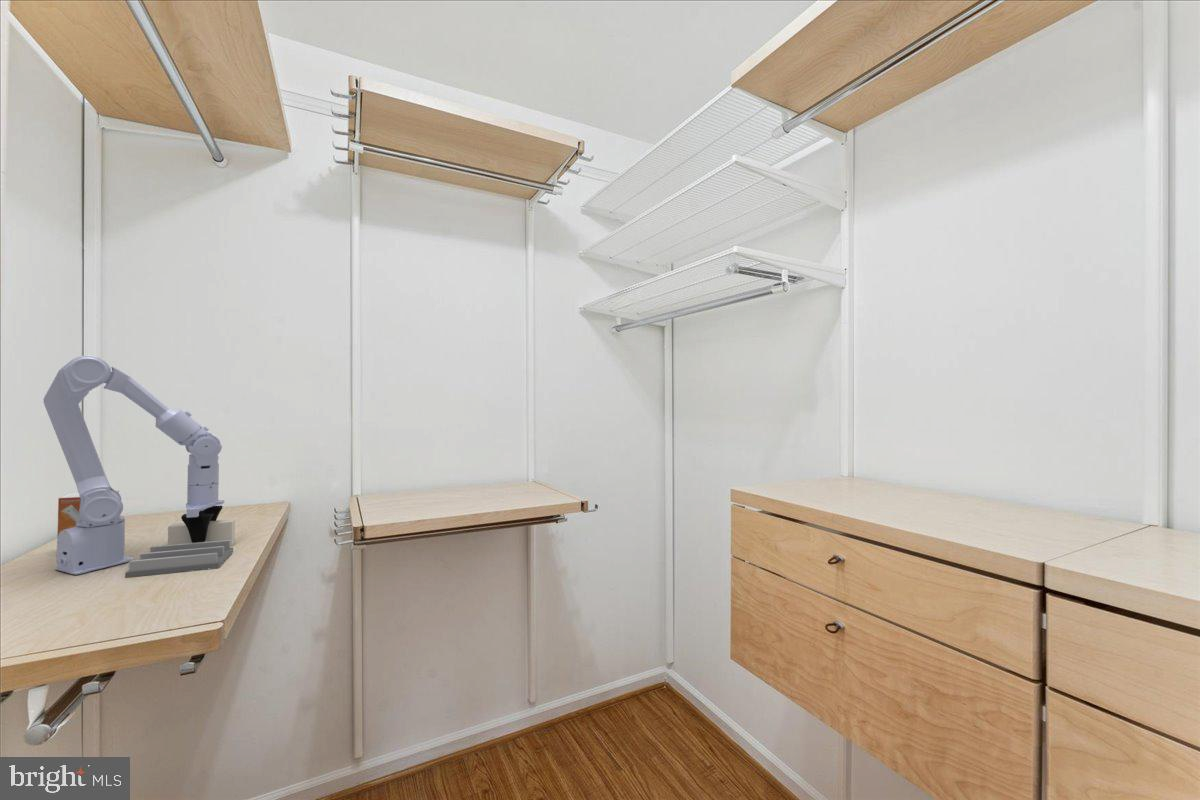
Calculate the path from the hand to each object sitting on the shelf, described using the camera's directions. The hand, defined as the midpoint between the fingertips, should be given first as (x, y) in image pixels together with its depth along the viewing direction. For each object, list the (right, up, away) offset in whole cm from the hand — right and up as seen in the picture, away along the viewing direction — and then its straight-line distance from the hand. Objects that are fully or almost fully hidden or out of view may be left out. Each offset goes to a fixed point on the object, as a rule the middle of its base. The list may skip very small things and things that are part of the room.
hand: (202, 540), depth 114 cm
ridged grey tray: (+5, -2, -11) cm, 12 cm away
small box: (-23, -1, -4) cm, 24 cm away
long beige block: (0, -2, 0) cm, 2 cm away
